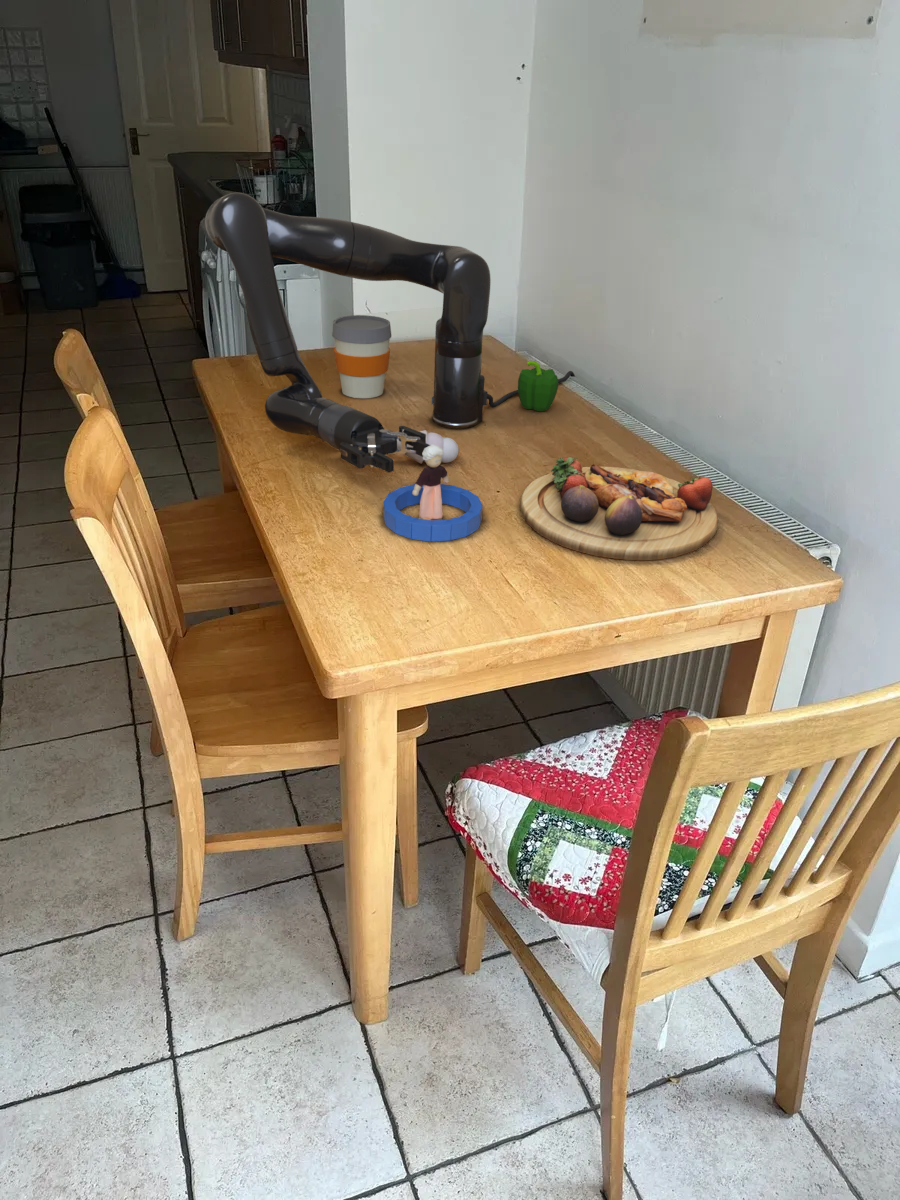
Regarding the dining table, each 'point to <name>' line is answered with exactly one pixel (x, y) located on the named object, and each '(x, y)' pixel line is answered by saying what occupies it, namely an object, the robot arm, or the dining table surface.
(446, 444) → the ice cream cone
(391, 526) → the tape ring
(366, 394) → the reusable coffee cup
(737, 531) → the dining table surface
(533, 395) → the bell pepper
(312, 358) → the dining table surface
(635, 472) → the wooden plate
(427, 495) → the grandmother figurine
